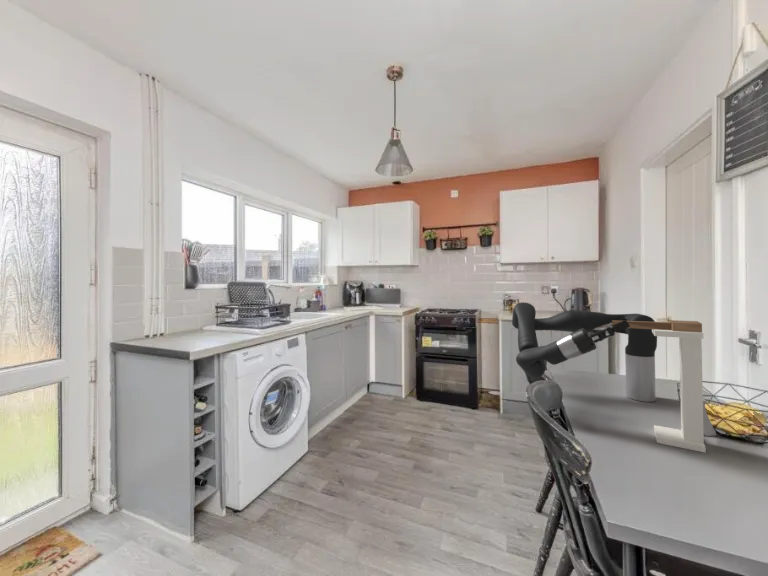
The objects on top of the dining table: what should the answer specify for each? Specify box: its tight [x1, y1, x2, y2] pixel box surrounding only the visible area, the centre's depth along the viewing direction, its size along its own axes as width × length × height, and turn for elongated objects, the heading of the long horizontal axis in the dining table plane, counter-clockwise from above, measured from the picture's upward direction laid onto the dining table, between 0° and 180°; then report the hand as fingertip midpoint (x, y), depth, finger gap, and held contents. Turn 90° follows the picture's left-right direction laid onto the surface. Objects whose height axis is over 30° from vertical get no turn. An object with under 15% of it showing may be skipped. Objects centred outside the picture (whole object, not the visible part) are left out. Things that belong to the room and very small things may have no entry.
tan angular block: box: [612, 319, 703, 333], centre depth 97 cm, size 7×20×2 cm, turn 54°
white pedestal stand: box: [652, 329, 707, 454], centre depth 94 cm, size 10×10×32 cm
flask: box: [703, 398, 717, 437], centre depth 99 cm, size 7×7×10 cm
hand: (627, 321), depth 100 cm, fingers open, 8 cm apart
